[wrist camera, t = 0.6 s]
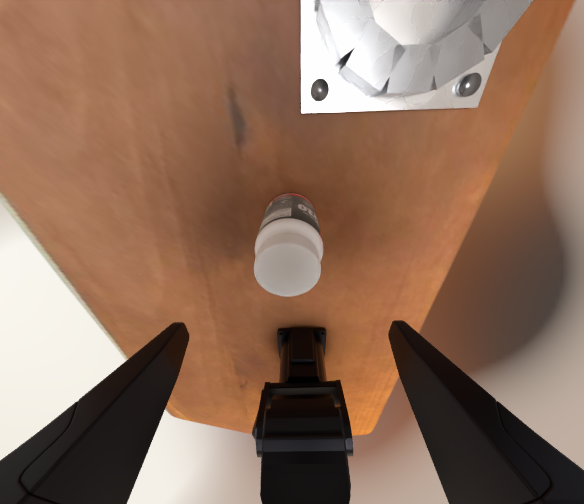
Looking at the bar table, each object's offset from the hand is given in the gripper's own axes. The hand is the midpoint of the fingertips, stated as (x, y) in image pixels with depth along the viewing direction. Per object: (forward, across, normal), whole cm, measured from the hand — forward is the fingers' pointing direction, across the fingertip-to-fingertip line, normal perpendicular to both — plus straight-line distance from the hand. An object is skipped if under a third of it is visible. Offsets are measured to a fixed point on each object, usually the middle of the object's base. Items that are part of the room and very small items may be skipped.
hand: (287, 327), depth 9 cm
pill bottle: (+12, 0, 0) cm, 12 cm away
